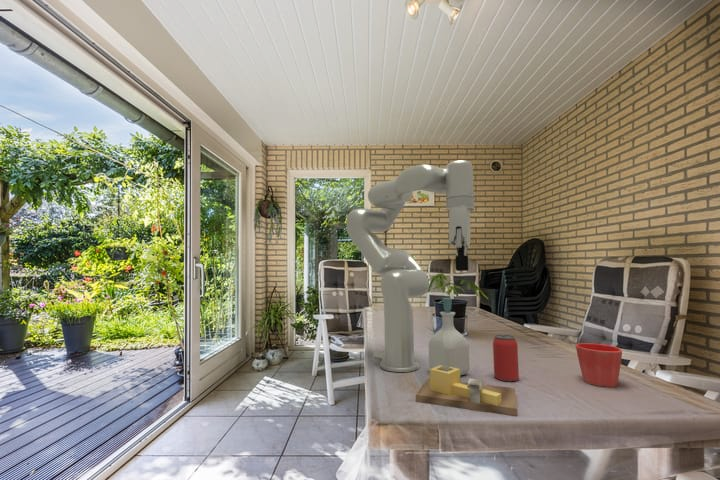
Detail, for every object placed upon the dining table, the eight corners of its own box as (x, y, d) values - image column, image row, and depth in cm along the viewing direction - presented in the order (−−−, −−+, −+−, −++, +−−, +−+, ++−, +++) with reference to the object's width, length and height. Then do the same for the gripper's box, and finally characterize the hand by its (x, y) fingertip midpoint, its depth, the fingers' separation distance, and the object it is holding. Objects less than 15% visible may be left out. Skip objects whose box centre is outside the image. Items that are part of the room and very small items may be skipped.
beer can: (514, 375, 101) (512, 334, 102) (522, 382, 95) (520, 338, 96) (491, 374, 102) (489, 334, 103) (498, 382, 95) (496, 338, 97)
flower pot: (618, 379, 97) (615, 344, 98) (629, 391, 87) (626, 352, 88) (575, 374, 102) (572, 341, 103) (581, 386, 92) (578, 349, 93)
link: (430, 389, 85) (429, 369, 85) (441, 384, 89) (441, 365, 89) (494, 407, 74) (493, 383, 74) (504, 401, 77) (503, 378, 78)
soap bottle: (426, 372, 105) (424, 297, 107) (448, 367, 110) (446, 296, 112) (450, 380, 97) (447, 299, 99) (472, 374, 102) (470, 298, 104)
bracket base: (415, 401, 81) (415, 371, 82) (428, 383, 94) (427, 357, 95) (517, 416, 73) (515, 382, 74) (515, 394, 86) (514, 365, 86)
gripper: (450, 210, 104) (452, 270, 103) (442, 201, 91) (444, 270, 89) (476, 208, 101) (478, 270, 100) (471, 199, 88) (474, 270, 86)
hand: (462, 270), depth 94 cm, fingers closed
